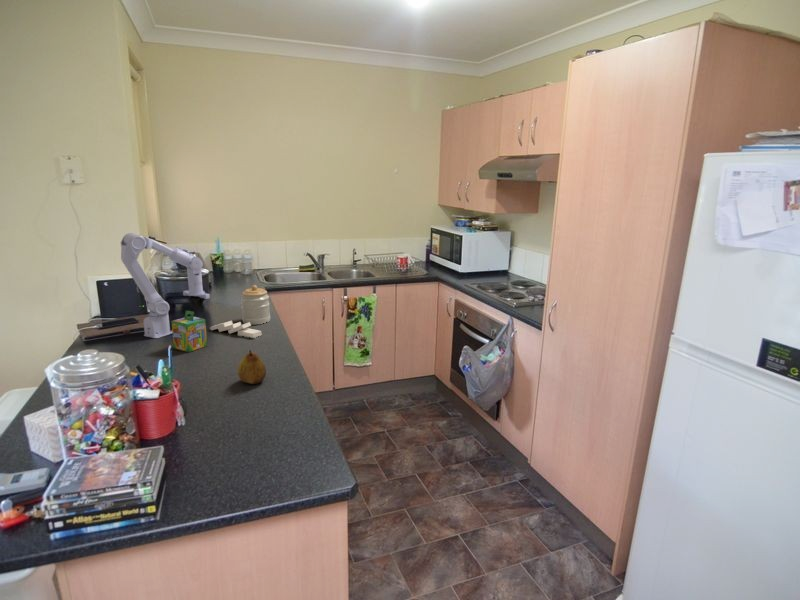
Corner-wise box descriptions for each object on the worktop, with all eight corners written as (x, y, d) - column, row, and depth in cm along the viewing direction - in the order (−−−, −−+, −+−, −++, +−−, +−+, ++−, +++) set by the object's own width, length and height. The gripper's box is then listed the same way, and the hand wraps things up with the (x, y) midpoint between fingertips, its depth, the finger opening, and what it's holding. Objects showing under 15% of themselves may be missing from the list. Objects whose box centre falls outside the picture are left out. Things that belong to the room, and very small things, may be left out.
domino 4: (246, 331, 205) (261, 334, 201) (237, 334, 201) (253, 337, 197) (246, 327, 205) (261, 330, 201) (237, 330, 201) (252, 333, 197)
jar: (274, 318, 228) (272, 282, 224) (264, 325, 216) (262, 288, 212) (248, 317, 230) (246, 281, 225) (237, 324, 217) (234, 287, 213)
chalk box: (173, 348, 185) (169, 312, 181) (192, 342, 192) (189, 307, 189) (189, 353, 180) (185, 316, 177) (208, 346, 188) (205, 310, 185)
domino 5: (245, 334, 206) (262, 337, 203) (237, 337, 202) (254, 340, 198) (245, 331, 206) (261, 333, 202) (237, 334, 201) (254, 336, 198)
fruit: (250, 374, 161) (248, 341, 158) (271, 379, 158) (270, 345, 155) (232, 384, 153) (229, 349, 150) (255, 389, 150) (252, 353, 147)
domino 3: (237, 331, 208) (251, 325, 203) (229, 334, 203) (243, 328, 199) (235, 327, 207) (249, 322, 203) (227, 330, 203) (241, 324, 199)
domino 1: (219, 327, 212) (232, 323, 208) (211, 330, 208) (224, 326, 204) (218, 324, 212) (231, 320, 208) (209, 327, 208) (223, 323, 203)
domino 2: (227, 329, 210) (241, 325, 206) (219, 332, 206) (233, 328, 202) (226, 325, 210) (240, 321, 206) (218, 328, 206) (232, 324, 202)
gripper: (214, 283, 209) (216, 312, 212) (191, 279, 215) (193, 308, 218) (201, 286, 203) (203, 316, 206) (178, 282, 209) (180, 311, 212)
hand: (197, 312), depth 212 cm, fingers closed
